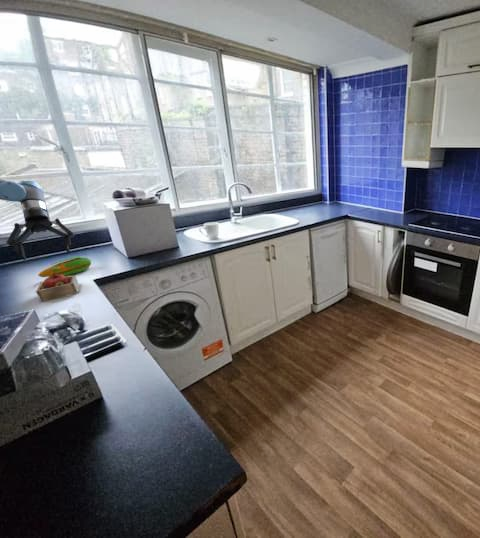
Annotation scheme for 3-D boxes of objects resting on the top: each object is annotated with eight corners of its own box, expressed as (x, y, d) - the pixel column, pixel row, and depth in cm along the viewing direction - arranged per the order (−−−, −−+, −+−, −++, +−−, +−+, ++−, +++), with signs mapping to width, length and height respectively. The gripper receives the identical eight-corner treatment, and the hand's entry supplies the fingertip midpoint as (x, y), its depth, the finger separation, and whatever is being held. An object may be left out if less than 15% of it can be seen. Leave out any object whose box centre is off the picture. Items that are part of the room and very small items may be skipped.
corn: (90, 254, 148) (37, 268, 132) (97, 268, 151) (45, 283, 134) (84, 253, 151) (31, 266, 135) (90, 266, 154) (39, 281, 138)
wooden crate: (41, 301, 119) (35, 291, 117) (45, 292, 127) (40, 282, 125) (77, 293, 125) (73, 283, 123) (79, 284, 133) (74, 275, 131)
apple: (69, 291, 124) (59, 270, 120) (47, 296, 121) (36, 274, 117) (72, 285, 130) (63, 264, 126) (51, 289, 127) (41, 268, 123)
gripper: (76, 213, 139) (87, 252, 135) (-2, 222, 125) (7, 265, 120) (71, 204, 133) (82, 244, 129) (-12, 212, 119) (-3, 257, 114)
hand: (46, 254), depth 124 cm, fingers open, 13 cm apart
